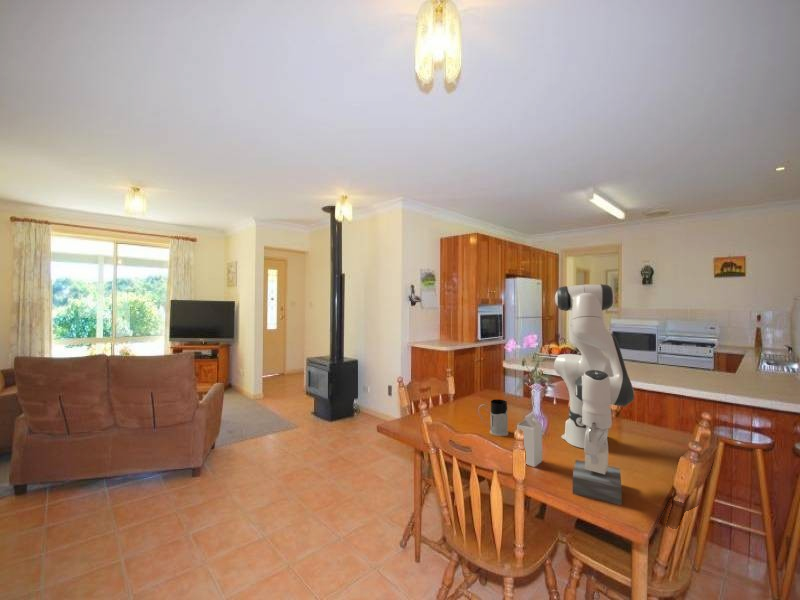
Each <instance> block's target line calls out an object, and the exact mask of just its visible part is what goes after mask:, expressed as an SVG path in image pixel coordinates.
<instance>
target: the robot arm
mask: <svg viewBox="0 0 800 600" xmlns="http://www.w3.org/2000/svg"><path fill="white" fill-rule="evenodd" d="M554 302H555V305H556V306H557V308H558V309H559V310H561V311H564V312H569V314H568V339H569V340H568V341H569V342H570V344H571V345H572V346H574V348H576V349H578V351H579V352H580V354H574V353H563V354H559V355H557V356H556V358H555V359H554V362H553V368H554V370H555V372H556V373H557V374H558V375H559V376H560V377H561V378H562V380H563V381H564V383H565V384H566V387H567V390H568V394H569V409H568V417H569V418H568V419H567V420H566V421H565V426H564V427H565V428H564V429H565V430H564V433H563V434H562V435H561V439H563V440H565V441H566V442H567V443H568V444H569V445H571V446H573V447H576V448H580V449H584V455H585V454H586V455H590V457H591V463H592V464H595V465H596V464H597V463H598V458H597V455H598V453H599V451H600V450H601V448H602V446H604V447H608V448H609V443H608V436H609V429H610V428H612V409H611V405H613V406H618V407H626V406H628V405H630V404H631V403H632V402H633V401H634V400H635V390H634V387H633V385H632V382H631V379H630V377H629V375H628V371H627V367H626V364H625V361H624V358H623V355H622V351H621V348H620V345H619V342H618V339H617V337H616V336H615V334H614V333H611V332H610V331H609V330H608V329H607V327H606V325H605V322H604V321H605V320H604V313H603V311H606V310H608V309H610V308H611V307H612V306H613V303H614V302H615V294H614V291H613V288H612V287H611V286H610V285H608V284H602V283H601V284H592V283H591V284H590V283H589V284H587V283H585V284H578V285H576V284H575V285H571V286H566V285H565V286H561V287H558V289H557V290H556V292H555V295H554ZM605 354H606V355H607V356H606V355H605Z"/></svg>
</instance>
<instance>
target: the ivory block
mask: <svg viewBox="0 0 800 600" xmlns="http://www.w3.org/2000/svg"><path fill="white" fill-rule="evenodd" d="M597 458H598V463H597V464H596V465H595V464H592V463H591V457H590V455H586V454H585V453H584V461H585V469H586V470H590V471H594V472H597V473H601V474H605V473H606V471H607V469H608V466H609V446H608V447H604V446H602V448H601V450H600V451H599V453H598V455H597Z"/></svg>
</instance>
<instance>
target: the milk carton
mask: <svg viewBox="0 0 800 600" xmlns="http://www.w3.org/2000/svg"><path fill="white" fill-rule="evenodd" d="M518 429H521V430H522V431H523V433H524V446H525V450H526V464H527V466H530V467H533V468H535V467H537V466H538V465H540V464H541V463H542V462H543V424H542V423H541V422H540V421H539V419H538V418H537V417H536V416H535V414H534V412H533V411H532V412H531V413H529V414H527V415H526V416H524V419H523V420H522V421H520V422H519V423H517V424H516V431H517V430H518ZM526 464H525V465H526Z"/></svg>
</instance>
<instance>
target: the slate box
mask: <svg viewBox="0 0 800 600" xmlns="http://www.w3.org/2000/svg"><path fill="white" fill-rule="evenodd" d="M572 494H573V495H577V496H581V497H586V498H588V499H594V500H598V501H602V502H606V503H609V504H614V505H619V506H622V501H623V500H622V498H623V496H622V495H623V494H622V477H621V468H620V467H614V466H609V465H608V469H607V471H606V473H605V474H601V473H597V472H594V471H590V470H586V469H585V460H579V459H575V461H574V466H573V472H572Z"/></svg>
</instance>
